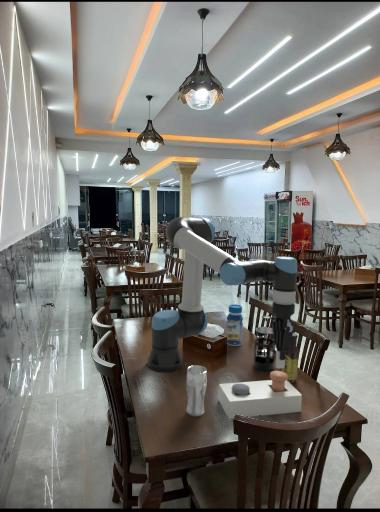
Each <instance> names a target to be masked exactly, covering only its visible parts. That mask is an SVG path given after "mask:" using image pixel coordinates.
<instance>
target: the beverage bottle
mask: <svg viewBox="0 0 380 512" xmlns="http://www.w3.org/2000/svg"><path fill="white" fill-rule="evenodd" d="M242 312H243V306H242V305H240V304H237V303H236V304H235V303H233V304H229V305H228V315H227V317H226V320H227V321H226V333H225V334H226V335H225V338H226V337H227V343H226V344H227V346H232V347H239V346H241V345H242V342H243V341H242V340H243V326H244V323H243V321H244V318H243V315H242Z"/></svg>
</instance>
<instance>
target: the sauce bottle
mask: <svg viewBox="0 0 380 512" xmlns="http://www.w3.org/2000/svg"><path fill="white" fill-rule="evenodd" d="M298 336H299V335H298V333H296V332H293V335H292V340H291V345H290V350H289V351H286V352H285V368H280V369H281V372H284V373H286V374H287V375H288V378H287V381H288V382H289V383H290V384H294V383H296V381H297V378H298V366H299V354H300V352H299V350H300V349H299V348H298V346H297V345H298V344H297V340H298Z"/></svg>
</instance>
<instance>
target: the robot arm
mask: <svg viewBox="0 0 380 512" xmlns="http://www.w3.org/2000/svg"><path fill="white" fill-rule="evenodd" d="M165 235H166V239H167V241H168V242H169V243H170V244H171V245H172V246H173V247H174V248H176V249H179V250H184V261H183V279H182V294H181V296H182V297H181V303H179V304H178V305H177V310H175V309H163V310H160V311H157V312H156V313H154V314H153V316H152V321H151V348H150V351H149V354H148V357H147V361H146V366H147V367H148V368H149V369H150V370H151V371H155V372H161V373H169V372H175V371H177V370H179V369H180V368H181V367H182V364H183V361H182V360H183V359H182V356H181V353H180V349H179V340H180V339H181V340H182V339H185V338H188V337H194V336H197V335H199V334H202V333H203V332H205V330H206V329H207V326H208V323H209V317H208V315H207V312H206V311H205V307H204V306H203V305H202V303H201V302H202V301H201V300H202V288H203V287H202V286H203V279H204V278H203V277H204V275H203V274H204V265H206V266H208V267H209V268H210V269H212V270H213V271H215V272H216V273H218V274H219V276H220V277H219V278H220V279H221V280H222V282H223V284H225V285H227V286H240V285H243V284H249V283H250V284H251V283H257V282H267V283H271V284H273V289H272V306H271V307H272V309H271V312H272V313H274V316H270V317H271V319H270V320H271V323H272V328H273V335H272V339H273V342H272V344H274V345H275V368H277V370H278V369H282V368H285V352H286V351H289V350H290V345H291V340H292V335H293V333H295V332H294V331H295V328H296V327H295V326H293V325H292V318H291V317H292V316H293V315H295V311H296V304H295V302H296V294H297V293H296V290H297V289H296V288H297V276H298V260H297V259H296V258H294V257H291V256H276V257H275V259H274V260H273V261H272V260H267V259H261V258H249V260H245V261H240V260H239V259H236V258H235V257H233V256H232V255H230V254H229V253H227V252H225V251H223V250H222V249H221V248H218V247H217V246H216V245H214V244H212V242H213V241H214V239H215V237H216V230H215V226H214V224H213V223H212V221H211V219H209V218H206V217H201V216H195V217H194V216H190V217H189V216H188V217H187V216H185V217H184V216H178V217H175V218H173V219H171V220H170V221H169V222H168V224H167V226H166V228H165Z"/></svg>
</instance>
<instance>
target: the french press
mask: <svg viewBox="0 0 380 512" xmlns="http://www.w3.org/2000/svg"><path fill="white" fill-rule="evenodd" d="M271 317H272V316H271V315H270V316H269V315H262V316H261V318H262V319H263V320H265V326H259V327H256V328H255V335H256V336H257V337H256V338H255V339H254V346H253V347H254V349H253V350H254V351H253V364H252V367H253V368H254V369H255V370H257V371H260V372H272V371H275V368H276V366H275V358H276V345H274V344H273V338H270V337H267V335H271V336H273V327H267V323H268V320H272V319H271ZM267 341H268V342H271V343H270V344H269V343H268V344H266V342H267ZM271 348H272V351H271Z"/></svg>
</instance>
